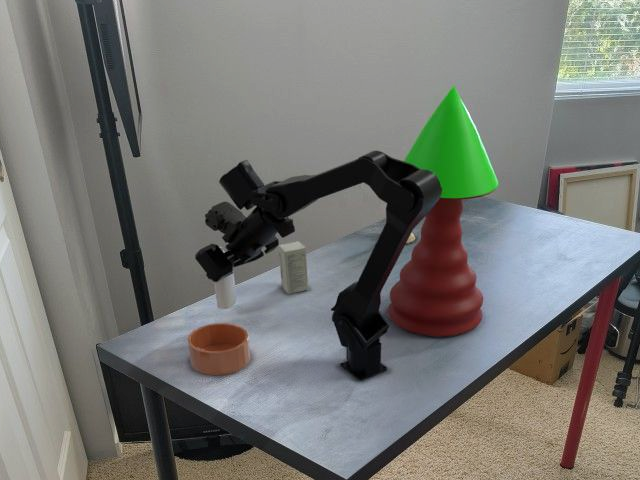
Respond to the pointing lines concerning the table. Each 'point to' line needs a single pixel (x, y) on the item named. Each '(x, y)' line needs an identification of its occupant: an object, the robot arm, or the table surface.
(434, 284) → the table lamp
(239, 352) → the round bowl
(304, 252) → the beige carton box
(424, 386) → the table surface
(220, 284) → the eye dropper bottle
